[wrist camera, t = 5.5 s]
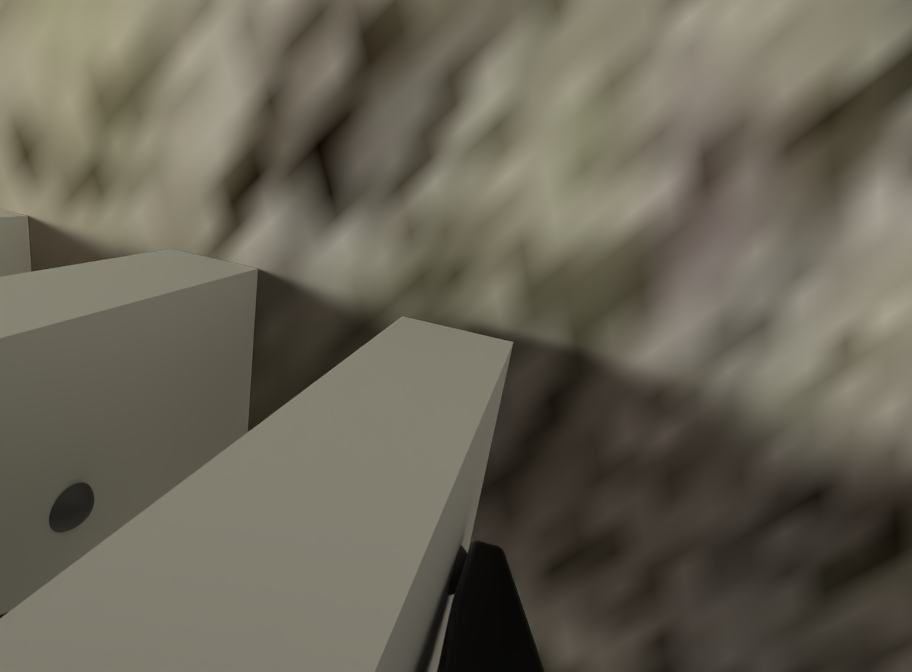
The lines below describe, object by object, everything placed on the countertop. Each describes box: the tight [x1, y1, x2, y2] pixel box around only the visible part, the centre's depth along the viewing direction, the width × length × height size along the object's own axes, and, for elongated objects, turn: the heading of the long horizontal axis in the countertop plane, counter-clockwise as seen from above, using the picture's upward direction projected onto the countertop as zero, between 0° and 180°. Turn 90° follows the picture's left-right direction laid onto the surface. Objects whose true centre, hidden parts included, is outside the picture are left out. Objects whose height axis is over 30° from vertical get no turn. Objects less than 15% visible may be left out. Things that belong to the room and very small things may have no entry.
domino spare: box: [0, 316, 513, 672], centre depth 5 cm, size 5×2×8 cm, turn 170°
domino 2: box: [0, 249, 258, 615], centre depth 7 cm, size 5×2×8 cm, turn 170°
